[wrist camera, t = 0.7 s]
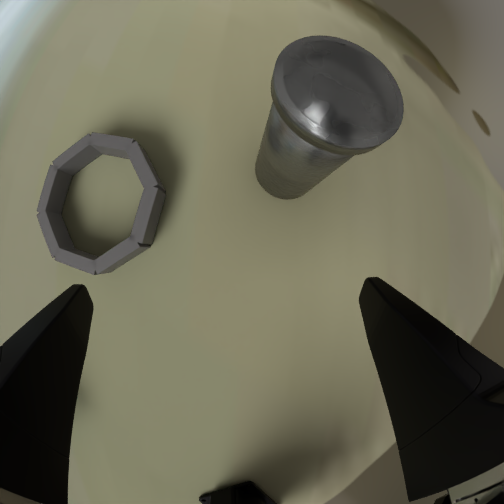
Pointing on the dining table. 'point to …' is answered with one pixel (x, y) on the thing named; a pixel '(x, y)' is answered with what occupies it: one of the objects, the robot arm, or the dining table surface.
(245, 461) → the dining table surface
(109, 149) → the collar
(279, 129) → the metal canister
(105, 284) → the dining table surface
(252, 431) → the dining table surface
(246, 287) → the dining table surface
